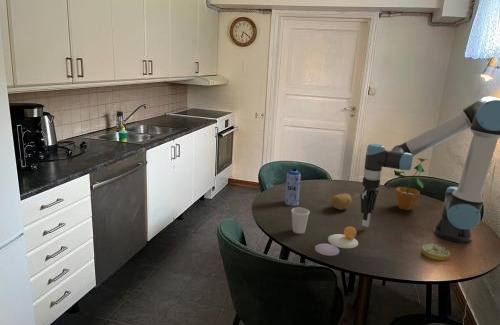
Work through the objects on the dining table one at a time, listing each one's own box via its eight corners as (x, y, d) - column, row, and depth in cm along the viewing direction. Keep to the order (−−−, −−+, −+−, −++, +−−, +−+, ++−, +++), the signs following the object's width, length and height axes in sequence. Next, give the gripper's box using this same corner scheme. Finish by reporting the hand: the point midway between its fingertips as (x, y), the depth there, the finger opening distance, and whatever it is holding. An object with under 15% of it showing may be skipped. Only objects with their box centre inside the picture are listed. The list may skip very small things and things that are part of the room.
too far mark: (344, 250, 154) (344, 250, 154) (330, 258, 147) (330, 257, 147) (324, 241, 161) (324, 241, 161) (310, 248, 154) (310, 248, 154)
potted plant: (430, 211, 201) (440, 158, 193) (403, 215, 194) (412, 160, 186) (406, 200, 217) (414, 150, 209) (380, 203, 210) (387, 151, 202)
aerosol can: (283, 204, 202) (285, 168, 197) (286, 199, 210) (288, 165, 204) (297, 206, 200) (300, 170, 195) (300, 201, 207) (302, 167, 202)
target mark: (363, 242, 162) (363, 241, 162) (347, 251, 153) (347, 251, 153) (338, 231, 171) (338, 231, 171) (321, 240, 162) (321, 239, 162)
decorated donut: (447, 253, 156) (449, 245, 155) (450, 265, 147) (452, 256, 146) (420, 247, 160) (422, 239, 159) (421, 259, 150) (423, 250, 149)
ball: (356, 240, 165) (359, 228, 165) (351, 239, 161) (354, 227, 161) (345, 237, 168) (348, 225, 169) (340, 236, 164) (343, 224, 165)
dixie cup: (310, 229, 172) (312, 209, 170) (303, 236, 165) (305, 215, 163) (294, 225, 176) (295, 205, 174) (286, 231, 169) (288, 211, 167)
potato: (355, 207, 201) (357, 194, 199) (341, 214, 192) (343, 200, 190) (340, 202, 208) (341, 189, 206) (325, 208, 198) (327, 194, 196)
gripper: (371, 173, 176) (365, 219, 182) (356, 178, 167) (350, 226, 173) (386, 177, 170) (379, 224, 177) (372, 182, 162) (365, 232, 168)
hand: (365, 225), depth 175 cm, fingers closed
